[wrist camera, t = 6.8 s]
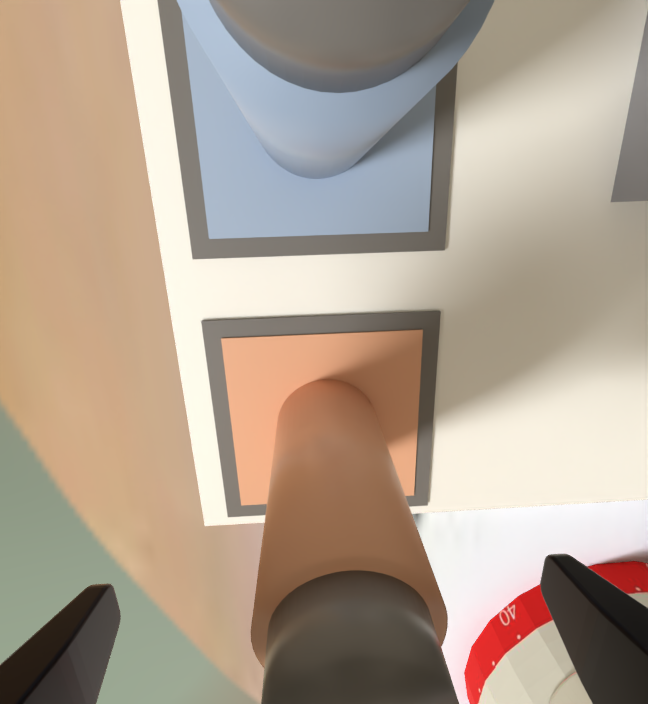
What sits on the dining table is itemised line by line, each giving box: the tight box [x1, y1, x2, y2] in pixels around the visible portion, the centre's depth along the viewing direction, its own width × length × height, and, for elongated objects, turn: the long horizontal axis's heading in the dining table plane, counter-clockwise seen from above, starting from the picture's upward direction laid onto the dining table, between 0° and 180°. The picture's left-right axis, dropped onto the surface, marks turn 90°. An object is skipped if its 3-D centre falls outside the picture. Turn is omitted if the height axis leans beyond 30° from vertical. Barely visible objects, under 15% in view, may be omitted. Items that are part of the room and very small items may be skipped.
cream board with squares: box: [120, 0, 648, 526], centre depth 13 cm, size 22×19×3 cm
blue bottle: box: [177, 0, 494, 179], centre depth 7 cm, size 4×4×9 cm
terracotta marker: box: [251, 379, 459, 704], centre depth 10 cm, size 4×4×9 cm
